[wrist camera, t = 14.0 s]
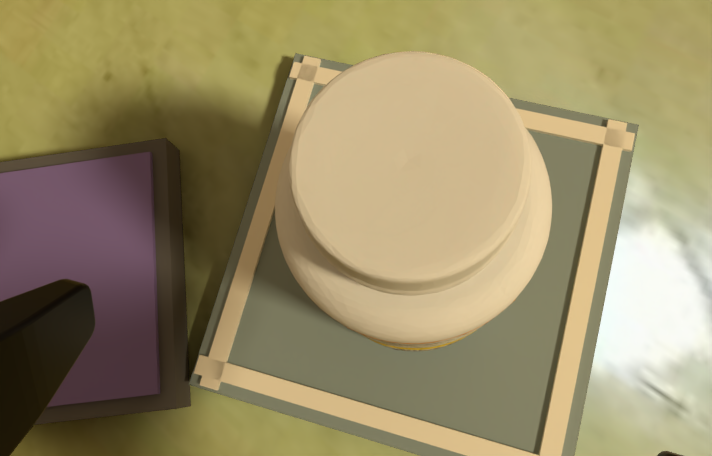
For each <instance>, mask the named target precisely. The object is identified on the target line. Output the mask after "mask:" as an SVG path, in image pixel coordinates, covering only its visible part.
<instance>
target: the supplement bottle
mask: <svg viewBox="0 0 712 456" xmlns="http://www.w3.org/2000/svg"><path fill="white" fill-rule="evenodd" d="M551 218H552V195H551V187H550V181H549V176H548V172H547V169H546V166H545V163H544V160H543V157H542V155H541V153H540V151H539V148H538V146H537V144H536V143H535V141H534V139H533V137H532V136H531V134H530V133H529V132H528V130H527V129H526V128H525V126H524V124H523V121H522V119H521V117H520V114H519V113H518V111H517V110H516V108H515V107H514V105H513V103H512V102H511V100H510V99H509V98H508V97H507V96H506V94H505V93H504V92H503V91H502V89H501V88H500V87H498V86H497V85H496V84H495V83H494V82H493V81H492V80H491V79H490V78H489V77H487V76H486V75H484V74H483V73H482V72H480V71H478V70H477V69H475V68H473V67H472V66H470V65H468V64H465V63H463V62H461V61H458V60H456V59H454V58H451V57H447V56H443V55H439V54H434V53H428V52H416V51H411V52H397V53H390V54H383V55H380V56H376V57H373V58H370V59H367V60H364V61H362V62H360V63H358V64H355V65H353V66H351V67H350V68H348V69H346V70H345V71H343V72H341V73H340V74H339V75H337V76H336V77H335V78H333V79H332V80H331V81H330V82H329V83H327V84H326V85H325V86H324V87H323V88H322V89H321V90H320V91H319V92H318V93H317V95H316V96H315V97H314V98H313V99H312V100H311V102H310V103H309V105H308V106H307V108H306V110H305V111H304V113H303V115H302V117H301V119H300V121H299V123H298V125H297V127H296V130H295V133H294V136H293V140H292V144H291V146H290V148H289V150H288V152H287V154H286V156H285V159H284V162H283V164H282V167H281V170H280V174H279V178H278V183H277V189H276V197H275V220H276V229H277V234H278V239H279V243H280V246H281V249H282V252H283V255H284V258H285V260H286V263H287V265H288V266H289V268H290V270H291V272H292V274H293V276H294V278H295V279H296V281H297V282H298V283H299V285H300V286H301V287H302V289H303V290H304V292H305V293H306V294H307V295H308V296H309V297H310V298H311V300H312V301H313V302H314V303H315V304H316V305H317V306H318V307H319V308H320V309H322V310H323V311H324V312H325V313H326V314H328V315H329V316H330V317H332V318H333V319H334V320H336V321H338V322H339V323H341V324H342V325H344V326H346V327H347V328H349V329H351V330H353V331H355V332H357V333H359V334H361V335H363V336H364V337H366V338H368V339H370V340H372V341H374V342H376V343H378V344H381V345H383V346H386V347H389V348H392V349H395V350H402V351H429V350H434V349H438V348H442V347H445V346H448V345H450V344H453V343H455V342H457V341H459V340H461V339H463V338H464V337H466V336H468V335H470V334H471V333H473V332H475V331H476V330H477V329H479V328H480V327H482V326H483V325H485V324H486V323H488V322H489V321H490V320H492V319H493V318H495V317H496V316H497V315H499V314H500V313H501V312H502V311H504V310H505V309H506V308H507V307H508V306H509V305H510V304H512V303H513V302H514V301H515V299H516V298H517V297H518V295H519V294H520V293H521V292H522V291H523V289H524V288H525V287H526V285H527V284H528V283H529V281H530V280H531V278H532V276H533V275H534V273H535V271H536V269H537V267H538V265H539V263H540V261H541V259H542V257H543V254H544V251H545V248H546V245H547V242H548V238H549V233H550V227H551Z"/></svg>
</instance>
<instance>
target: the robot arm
mask: <svg viewBox="0 0 712 456" xmlns="http://www.w3.org/2000/svg"><path fill="white" fill-rule="evenodd" d="M94 329H95V314H94V307H93V301H92V294H91V289H90V288H89V286H88V285H86V284H84V283H81V282H77V281H74V280H70V279H60V280H57V281H54V282H52V283H49V284H46V285H44V286H41V287H38V288H35V289H33V290H30V291H27V292H25V293H22V294H19V295H16V296H14V297H11V298H8V299H6V300H3V301H0V456H10V455H11V453H12V452H13V451H14V450H15V448H16V447H17V446H18V444H19V443H20V442H21V441H22V439H23V438H24V437H25V435H26V434H27V433H28V432H29V430H30V429H31V428H32V427H33V425H34V424H35V423H36V421H37V420H38V419H39V417H40V416H41V415H42V413H43V412H44V410H45V409H46V407H47V406H48V404H49V403H50V401H51V400H52V398H53V397H54V395H55V393H56V392H57V390H58V389H59V387H60V385H61V384H62V382H63V381H64V379H65V378H66V376H67V374H68V373H69V371H70V370H71V368H72V366H73V365H74V363H75V362H76V360H77V359H78V357H79V355H80V354H81V352H82V351H83V349H84V348H85V346H86V344H87V343H88V341H89V340H90V338H91V336H92V334H93V332H94ZM657 456H683V455H679V454H676V453H672V452H669V451H662V452H661V453H659V454H658V455H657Z"/></svg>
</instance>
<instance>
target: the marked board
mask: <svg viewBox="0 0 712 456" xmlns="http://www.w3.org/2000/svg"><path fill="white" fill-rule="evenodd" d="M351 66H353V65H349V64H344V63H339V62H335V61H330V60H325V59H320V58H315V57H311V56H306V55H301V54H296V53H295V57H294V60H293V63H292V66H291V69H290V72H289V75H288V78H287V81H286V84H285V88H284V91H283V94H282V97H281V100H280V103H279V106H278V109H277V112H276V115H275V119H274V122H273V125H272V128H271V131H270V134H269V137H268V140H267V143H266V146H265V149H264V153H263V156H262V159H261V162H260V165H259V168H258V171H257V174H256V177H255V180H254V184H253V187H252V190H251V193H250V196H249V199H248V202H247V205H246V208H245V211H244V215H243V218H242V221H241V224H240V227H239V230H238V233H237V236H236V239H235V242H234V246H233V249H232V252H231V255H230V258H229V261H228V264H227V267H226V270H225V273H224V276H223V280H222V283H221V286H220V289H219V292H218V295H217V298H216V301H215V304H214V307H213V311H212V314H211V317H210V320H209V323H208V326H207V329H206V332H205V335H204V338H203V342H202V345H201V348H200V351H199V354H198V357H197V360H196V363H195V366H194V369H193V373H192V376H191V379H190V382H189V385H192V386H195V387H198V388H201V389H205V390H208V391H211V392H214V393H218V394H221V395H224V396H228V397H231V398H234V399H237V400H241V401H244V402H247V403H250V404H254V405H257V406H260V407H264V408H267V409H270V410H273V411H277V412H280V413H283V414H286V415H290V416H293V417H296V418H300V419H303V420H306V421H309V422H313V423H316V424H319V425H322V426H326V427H329V428H332V429H335V430H339V431H342V432H345V433H349V434H352V435H355V436H358V437H362V438H365V439H368V440H371V441H375V442H378V443H381V444H385V445H388V446H391V447H394V448H398V449H401V450H404V451H407V452H411V453H414V454H417V455H421V456H574V455H575V450H576V445H577V440H578V435H579V429H580V424H581V419H582V414H583V409H584V404H585V399H586V393H587V388H588V383H589V378H590V373H591V368H592V363H593V357H594V352H595V347H596V342H597V337H598V332H599V327H600V321H601V316H602V311H603V306H604V301H605V296H606V291H607V285H608V280H609V275H610V270H611V265H612V260H613V255H614V249H615V244H616V239H617V234H618V229H619V224H620V219H621V213H622V208H623V203H624V198H625V193H626V188H627V183H628V177H629V172H630V167H631V162H632V157H633V152H634V147H635V141H636V136H637V131H638V126H639V125H637V124H632V123H628V122H623V121H618V120H613V119H608V118H604V117H599V116H594V115H589V114H584V113H580V112H575V111H570V110H565V109H560V108H556V107H551V106H546V105H541V104H536V103H532V102H527V101H522V100H517V99H512V98H509V99H510V100H511V102H512V103H513V105H514V107H515V108H516V110H517V111H518V113H519V114H520V117H521V119H522V121H523V124H524V126H525V128H526V129H527V130H528V132H529V133H530V134H531V136H532V137H533V139H534V141H535V143H536V144H537V146H538V148H539V151H540V153H541V155H542V157H543V160H544V163H545V166H546V169H547V172H548V176H549V181H550V187H551V195H552V218H551V227H550V233H549V238H548V242H547V245H546V248H545V251H544V254H543V257H542V259H541V261H540V263H539V265H538V267H537V269H536V271H535V273H534V275H533V276H532V278H531V280H530V281H529V283H528V284H527V285H526V287H525V288H524V289H523V291H522V292H521V293H520V294H519V295H518V297H517V298H516V299H515V301H514V302H513V303H512V304H510V305H509V306H508V307H507V308H506V309H505V310H504V311H502V312H501V313H500V314H499V315H497V316H496V317H495V318H493V319H492V320H490V321H489V322H488V323H486V324H485V325H483V326H482V327H480V328H479V329H477V330H476V331H475V332H473V333H471V334H470V335H468V336H466V337H464V338H463V339H461V340H459V341H457V342H455V343H453V344H450V345H448V346H445V347H442V348H438V349H434V350H429V351H402V350H395V349H392V348H389V347H386V346H383V345H381V344H378V343H376V342H374V341H372V340H370V339H368V338H366V337H364V336H363V335H361V334H359V333H357V332H355V331H353V330H351V329H349V328H347V327H346V326H344V325H342V324H341V323H339V322H338V321H336V320H334V319H333V318H332V317H330V316H329V315H328V314H326V313H325V312H324V311H323V310H322V309H320V308H319V307H318V306H317V305H316V304H315V303H314V302H313V301H312V300H311V298H310V297H309V296H308V295H307V294H306V293H305V292H304V290H303V289H302V287H301V286H300V285H299V283H298V282H297V281H296V279H295V278H294V276H293V274H292V272H291V270H290V268H289V266H288V265H287V263H286V260H285V258H284V255H283V252H282V249H281V246H280V243H279V239H278V234H277V229H276V220H275V197H276V189H277V183H278V178H279V174H280V170H281V167H282V164H283V162H284V159H285V156H286V154H287V152H288V150H289V148H290V146H291V144H292V140H293V136H294V133H295V130H296V127H297V125H298V123H299V121H300V119H301V117H302V115H303V113H304V111H305V110H306V108H307V106H308V105H309V103H310V102H311V100H312V99H313V98H314V97H315V96H316V95H317V93H318V92H319V91H320V90H321V89H322V88H323V87H324V86H325V85H326V84H327V83H329V82H330V81H331V80H332V79H333V78H335V77H336V76H337V75H339V74H340V73H341V72H343V71H345V70H346V69H348V68H350V67H351Z"/></svg>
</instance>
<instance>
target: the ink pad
mask: <svg viewBox="0 0 712 456" xmlns="http://www.w3.org/2000/svg"><path fill="white" fill-rule="evenodd" d="M60 279H70V280H74V281H77V282H81V283H84V284H86V285H88V286H89V288H90V289H91V294H92V301H93V307H94V314H95V329H94V332H93V334H92V336H91V338H90V340H89V341H88V343H87V344H86V346H85V348H84V349H83V351H82V352H81V354H80V355H79V357H78V359H77V360H76V362H75V363H74V365H73V366H72V368H71V370H70V371H69V373H68V374H67V376H66V378H65V379H64V381H63V382H62V384H61V385H60V387H59V389H58V390H57V392H56V393H55V395H54V397H53V398H52V400H51V401H50V403H49V404H48V406H47V407H46V409H45V410H44V412H43V413H42V415H41V416H40V417H39V419H38V420H37V421H36V423H35V424H34V425H36V424H44V423H53V422H62V421H71V420H80V419H89V418H97V417H106V416H115V415H124V414H133V413H141V412H150V411H159V410H168V409H177V408H182V407H188V406H191V402H190V385H189V382H190V380H189V358H188V336H187V313H186V291H185V269H184V247H183V224H182V202H181V180H180V158H179V150H178V149H177V148H176V147H175V146H174V145H173V144H172V143H171V142H170V141H168V140H167V139H166V138H163V139H156V140H150V141H143V142H136V143H129V144H122V145H115V146H108V147H101V148H95V149H88V150H81V151H74V152H67V153H60V154H53V155H47V156H40V157H33V158H26V159H19V160H12V161H5V162H0V301H3V300H6V299H8V298H11V297H14V296H16V295H19V294H22V293H25V292H27V291H30V290H33V289H35V288H38V287H41V286H44V285H46V284H49V283H52V282H54V281H57V280H60Z"/></svg>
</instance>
